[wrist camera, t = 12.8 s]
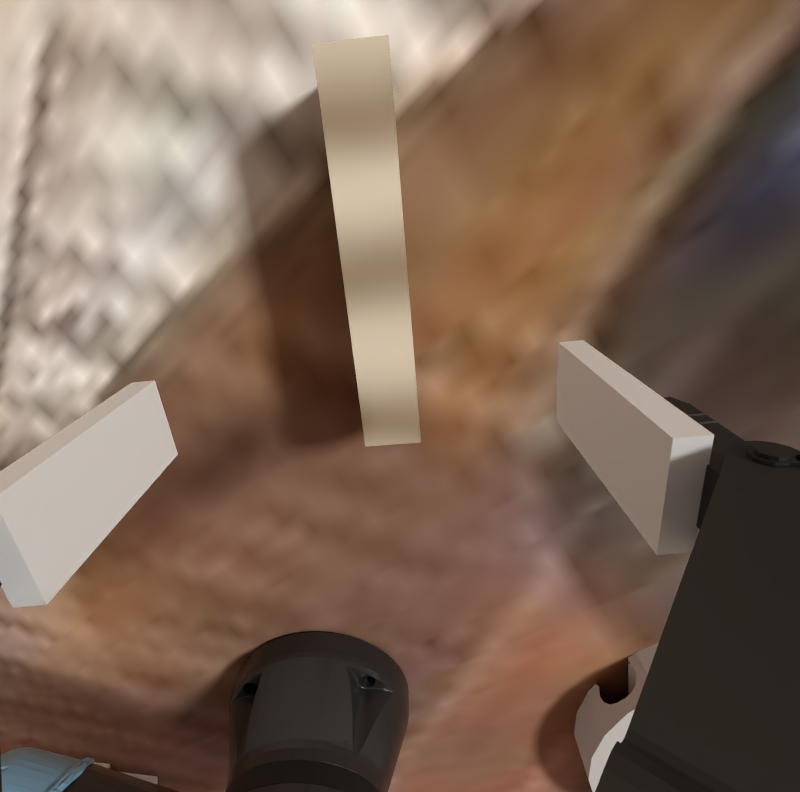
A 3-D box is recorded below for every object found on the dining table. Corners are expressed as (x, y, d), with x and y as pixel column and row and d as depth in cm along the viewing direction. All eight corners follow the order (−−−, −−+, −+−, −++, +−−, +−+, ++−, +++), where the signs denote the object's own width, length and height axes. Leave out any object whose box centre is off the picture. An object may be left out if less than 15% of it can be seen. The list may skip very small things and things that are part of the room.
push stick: (417, 397, 31) (420, 442, 25) (371, 401, 31) (365, 446, 25) (391, 72, 24) (388, 34, 18) (332, 78, 24) (311, 43, 18)
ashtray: (579, 800, 49) (593, 849, 45) (565, 645, 40) (581, 691, 36) (812, 773, 47) (847, 823, 43) (852, 605, 38) (900, 649, 34)
